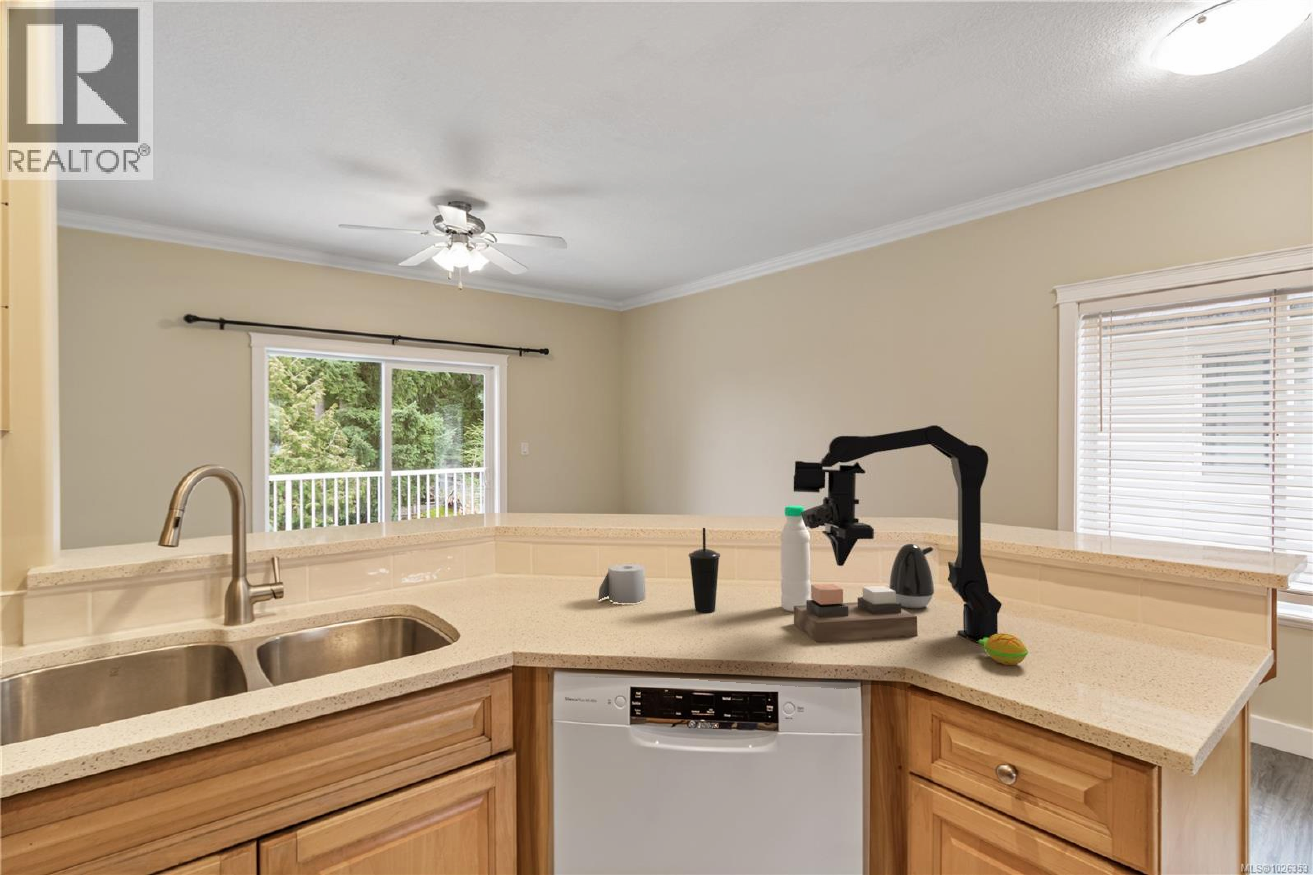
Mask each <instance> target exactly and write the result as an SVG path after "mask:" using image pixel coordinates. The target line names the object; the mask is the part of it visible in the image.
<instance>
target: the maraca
mask: <svg viewBox="0 0 1313 875" xmlns="http://www.w3.org/2000/svg"><path fill="white" fill-rule="evenodd" d="M977 643H978V644H980V645H983V649H984V650H985V651H986V653H987V655H988V656H989V657H990V658H991V659H992V660H994V661H995V662H997V663H998V664H1002V665H1004V666H1014V665H1018V664H1020V663H1022V662H1023V661H1024V660H1025V658H1026V657H1027V655H1028V654H1029V650H1028V648H1027V647H1026V645H1025V644H1024V642H1023V641H1021V639H1019V638H1018V637H1017V636H1015V635H1013V634H1011V633H1010V634H1009V633H1007V632H998V634H994V635H992V636H991V637H990V638H986V637H985V638H983V640H979V641H978V642H977Z"/></svg>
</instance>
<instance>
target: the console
mask: <svg viewBox="0 0 1313 875" xmlns="http://www.w3.org/2000/svg"><path fill="white" fill-rule="evenodd" d="M793 625H794V626H796V627H798V628H799V629H800V630H801V631H803V632H804V633H805V634H807V635H808V637H810V638H811V639H813V640H814V641H815V642H816V643H826V642H828V641H829V642H840V641H842V642H843V641H856V640H871V639H872V638H875V639H887V638H886V637H890V638H900V637H899V636H905V637H915V636H916V637H917V636H918V616H917V615H916V614H915V615H914V613H910V612H909V611H907V610H905V609H903V608H902V606H901V603H899V602H897V601H896V603H888V604H872V603H870V602H868V601H866V600H864V599H863V596H858V597H857V601H854V602H843V603H840V604H822V605H821V604H819V603H817V602H816V601H814V600H813V599H811V600H806V605H800V606H794V612H793ZM872 640H873V639H872Z"/></svg>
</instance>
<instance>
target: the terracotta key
mask: <svg viewBox="0 0 1313 875" xmlns="http://www.w3.org/2000/svg"><path fill="white" fill-rule="evenodd" d="M810 586H811V588H810V598H811V600H814V601H816V602H817V603H819V604H821V605H822V604H840V603H844V589H843V588H842V587H839V586H838V585H836V584H834V583H824V584H821V583H820V584H810Z"/></svg>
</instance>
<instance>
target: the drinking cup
mask: <svg viewBox="0 0 1313 875" xmlns="http://www.w3.org/2000/svg"><path fill="white" fill-rule="evenodd" d="M706 535H707V534H706V527H702V548H700V549H696V550H694V551H693V552H690V553H688V558H689V560H690V571H691V572H690V573H691V582H692V592H693V593H692V594H693V602H694V611H695V612H697V613H700V614H710V613H714V612H715V611H716V602H717V591H718V590H717V589H718V579H719V578H718V575H719V574H718V573H719V562H720V557H721V554H720V553H719V552H716V551H715V550H713V549H708V548H707V547H706V541H707V540H706V538H707V536H706Z"/></svg>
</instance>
